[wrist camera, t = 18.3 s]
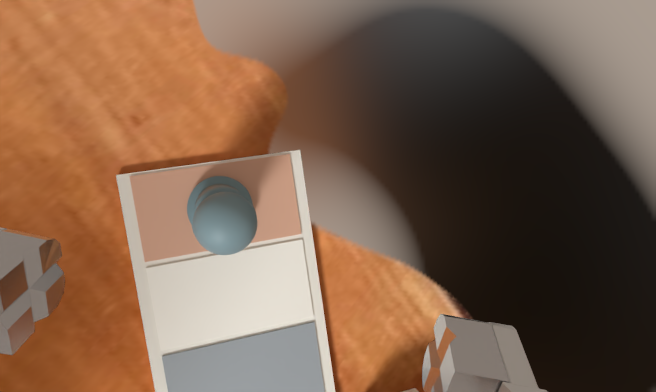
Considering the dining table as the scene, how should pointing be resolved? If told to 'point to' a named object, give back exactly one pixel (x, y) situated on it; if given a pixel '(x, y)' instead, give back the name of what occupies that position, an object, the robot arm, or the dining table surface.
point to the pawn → (222, 215)
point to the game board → (228, 283)
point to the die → (411, 390)
